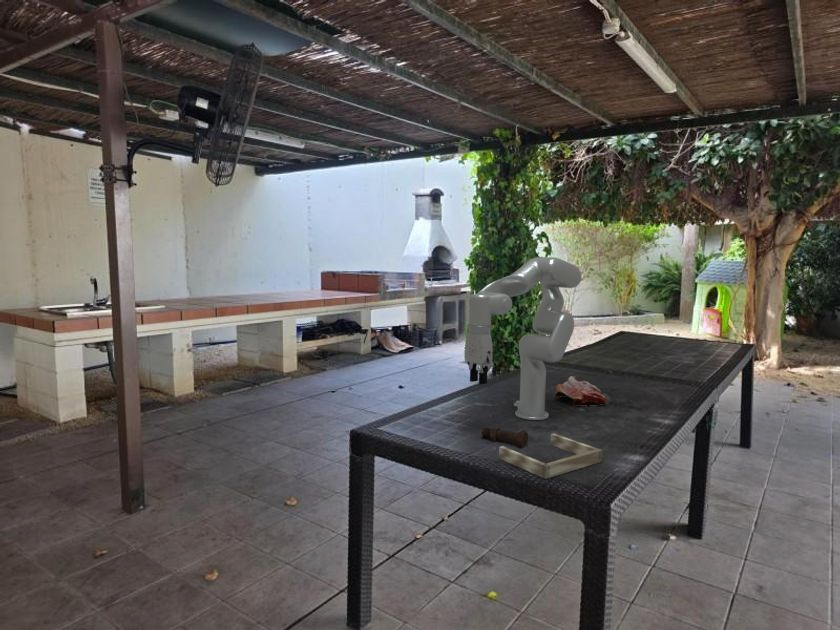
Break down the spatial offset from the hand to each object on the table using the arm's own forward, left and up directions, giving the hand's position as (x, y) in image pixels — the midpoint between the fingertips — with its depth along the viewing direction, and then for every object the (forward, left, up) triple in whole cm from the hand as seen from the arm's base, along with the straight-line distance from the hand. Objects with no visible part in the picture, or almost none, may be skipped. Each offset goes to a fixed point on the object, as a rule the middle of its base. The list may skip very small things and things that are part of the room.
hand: (478, 382), depth 185 cm
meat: (-8, +65, -18) cm, 68 cm away
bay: (+32, 0, -17) cm, 37 cm away
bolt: (+13, 0, -18) cm, 22 cm away
